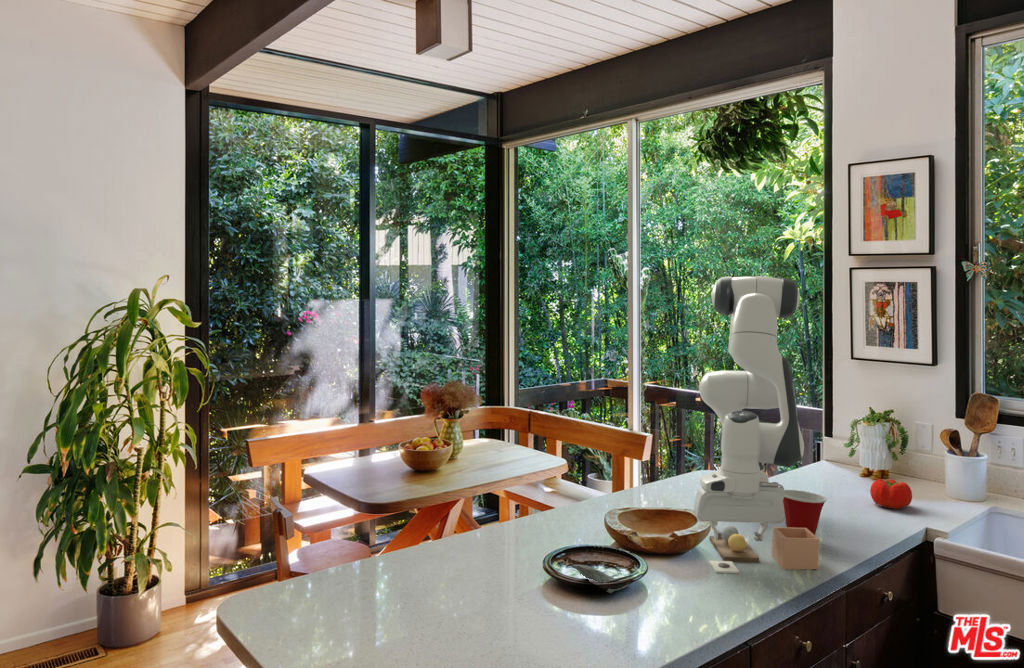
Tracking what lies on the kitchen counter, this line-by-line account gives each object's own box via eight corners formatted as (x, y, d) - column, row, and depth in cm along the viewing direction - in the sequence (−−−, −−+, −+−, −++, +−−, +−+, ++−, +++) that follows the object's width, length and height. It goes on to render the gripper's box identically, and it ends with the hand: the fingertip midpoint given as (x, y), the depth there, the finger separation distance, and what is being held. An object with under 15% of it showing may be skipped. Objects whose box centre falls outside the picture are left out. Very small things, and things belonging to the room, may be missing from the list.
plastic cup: (835, 545, 175) (837, 497, 174) (802, 551, 171) (804, 502, 170) (800, 531, 185) (802, 486, 184) (768, 536, 181) (770, 490, 180)
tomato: (918, 507, 207) (919, 482, 207) (898, 514, 201) (899, 488, 200) (881, 498, 216) (883, 474, 215) (862, 504, 210) (863, 479, 209)
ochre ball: (726, 547, 170) (726, 531, 169) (742, 548, 169) (743, 531, 169) (730, 553, 166) (730, 537, 165) (747, 554, 166) (748, 537, 165)
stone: (592, 576, 157) (561, 573, 151) (597, 559, 158) (566, 555, 151) (628, 597, 149) (596, 595, 143) (633, 579, 149) (602, 576, 143)
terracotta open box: (771, 556, 167) (772, 527, 167) (805, 557, 167) (806, 527, 166) (783, 569, 159) (784, 538, 159) (818, 569, 159) (819, 539, 159)
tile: (709, 562, 163) (709, 559, 163) (731, 563, 163) (731, 560, 163) (715, 572, 157) (716, 570, 157) (738, 573, 157) (738, 570, 157)
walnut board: (709, 540, 178) (709, 536, 178) (741, 540, 177) (742, 536, 177) (723, 561, 164) (723, 556, 164) (759, 562, 163) (759, 557, 163)
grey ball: (719, 539, 176) (720, 523, 175) (736, 539, 175) (736, 523, 175) (723, 544, 172) (724, 528, 171) (740, 545, 171) (741, 528, 171)
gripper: (780, 479, 169) (778, 536, 170) (693, 477, 170) (691, 534, 170) (789, 486, 163) (787, 545, 163) (699, 483, 164) (697, 543, 164)
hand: (738, 539), depth 167 cm, fingers open, 8 cm apart
